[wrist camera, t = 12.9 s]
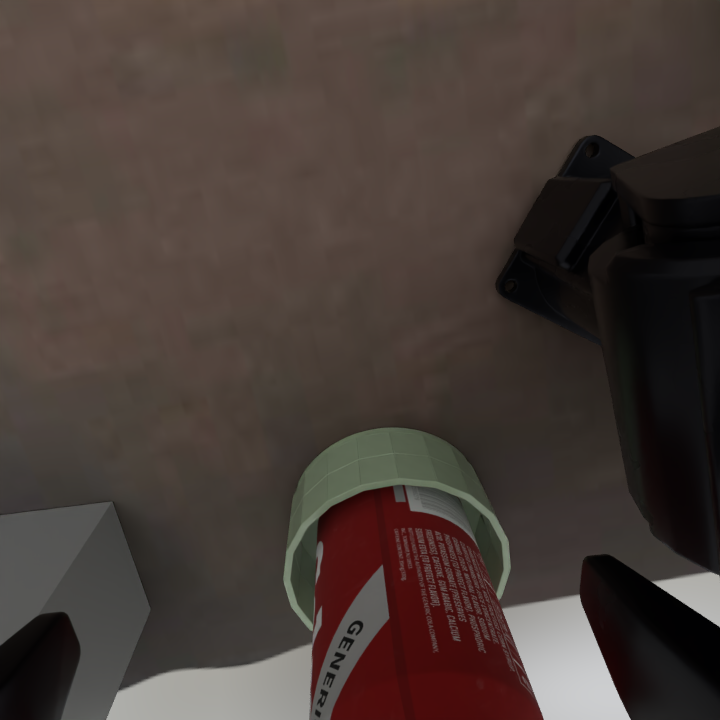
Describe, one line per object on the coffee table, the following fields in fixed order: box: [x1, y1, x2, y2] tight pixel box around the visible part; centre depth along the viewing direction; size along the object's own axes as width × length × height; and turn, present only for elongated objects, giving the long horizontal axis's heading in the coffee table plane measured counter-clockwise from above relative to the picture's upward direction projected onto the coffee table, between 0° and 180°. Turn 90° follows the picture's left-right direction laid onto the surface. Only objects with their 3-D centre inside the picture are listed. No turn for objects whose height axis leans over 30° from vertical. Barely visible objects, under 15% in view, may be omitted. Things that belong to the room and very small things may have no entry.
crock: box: [283, 427, 511, 631], centre depth 22 cm, size 9×9×4 cm
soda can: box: [309, 485, 544, 720], centre depth 18 cm, size 7×7×12 cm
